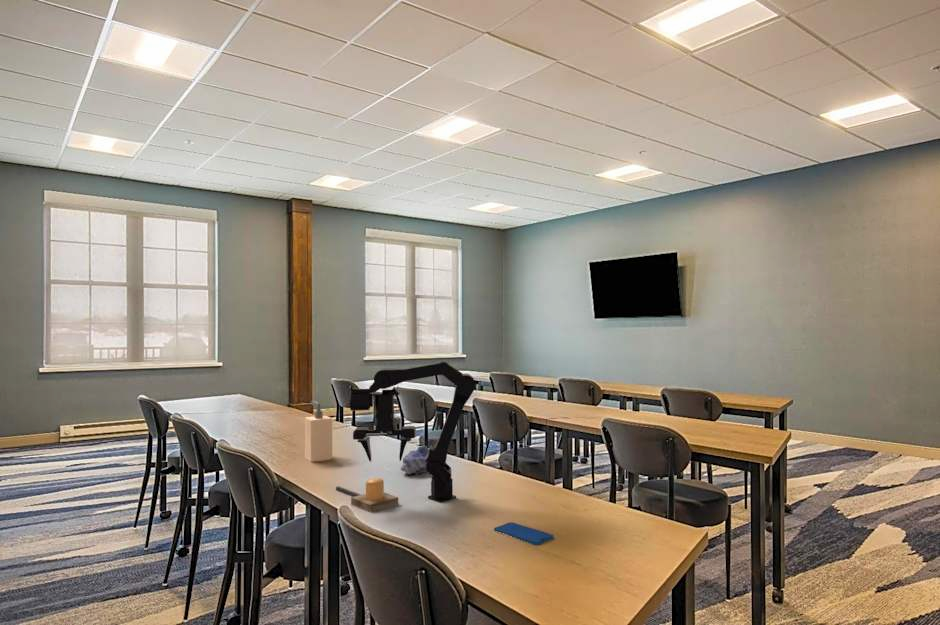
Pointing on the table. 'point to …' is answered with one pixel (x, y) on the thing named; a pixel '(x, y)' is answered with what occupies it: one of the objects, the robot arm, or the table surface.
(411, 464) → the mineral
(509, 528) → the smartphone
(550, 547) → the table surface
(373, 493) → the orange domed octagonal post
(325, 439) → the soap dispenser
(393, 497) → the peg block
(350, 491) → the bar
